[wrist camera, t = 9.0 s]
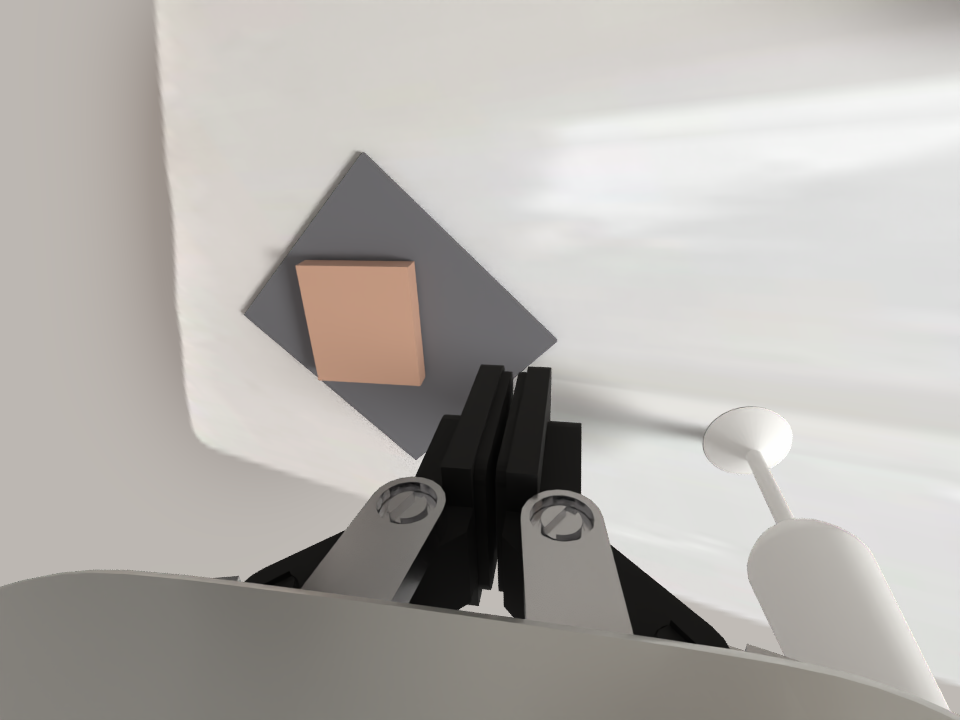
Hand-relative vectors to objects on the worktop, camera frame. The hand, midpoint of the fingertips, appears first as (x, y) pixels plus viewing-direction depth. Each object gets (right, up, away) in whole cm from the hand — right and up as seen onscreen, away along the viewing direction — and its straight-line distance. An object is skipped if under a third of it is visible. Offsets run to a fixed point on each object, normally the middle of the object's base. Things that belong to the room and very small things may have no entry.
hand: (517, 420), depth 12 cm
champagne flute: (+21, -5, +29) cm, 36 cm away
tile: (-6, +4, +28) cm, 29 cm away
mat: (-8, +4, +30) cm, 32 cm away
